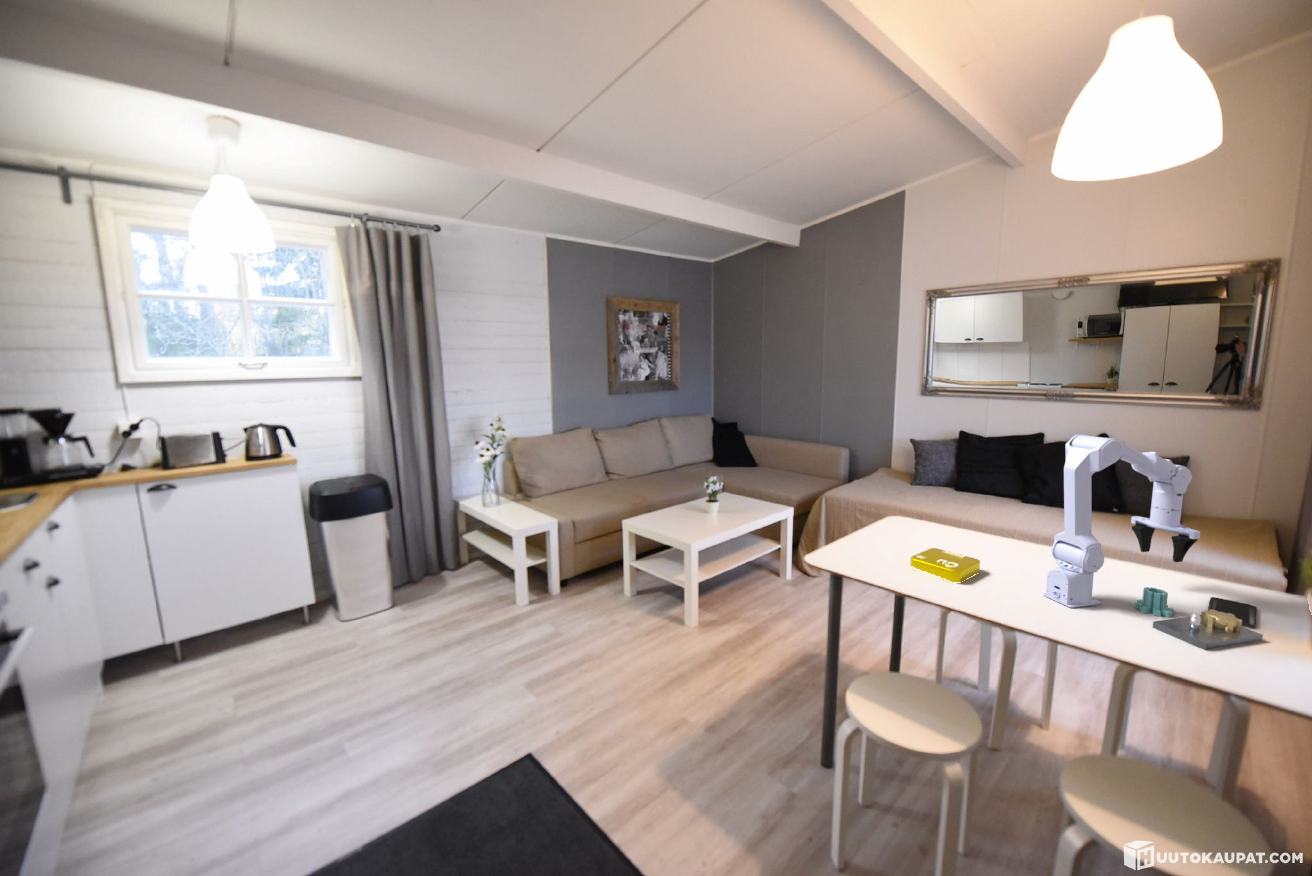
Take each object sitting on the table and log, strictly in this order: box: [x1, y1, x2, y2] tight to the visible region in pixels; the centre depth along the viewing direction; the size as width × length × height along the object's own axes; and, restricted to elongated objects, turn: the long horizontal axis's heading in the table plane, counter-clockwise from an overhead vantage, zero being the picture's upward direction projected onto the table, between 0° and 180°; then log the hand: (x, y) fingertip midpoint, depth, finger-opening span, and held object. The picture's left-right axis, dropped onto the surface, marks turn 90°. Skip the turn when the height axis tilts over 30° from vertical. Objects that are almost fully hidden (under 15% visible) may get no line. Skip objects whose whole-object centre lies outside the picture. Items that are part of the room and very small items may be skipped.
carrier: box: [1152, 609, 1264, 651], centre depth 115 cm, size 16×10×5 cm, turn 100°
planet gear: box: [1134, 587, 1175, 618], centre depth 126 cm, size 7×7×5 cm
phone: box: [1207, 596, 1258, 630], centre depth 124 cm, size 8×1×15 cm
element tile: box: [910, 547, 981, 582], centre depth 155 cm, size 15×15×5 cm
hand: (1160, 556), depth 136 cm, fingers open, 7 cm apart
